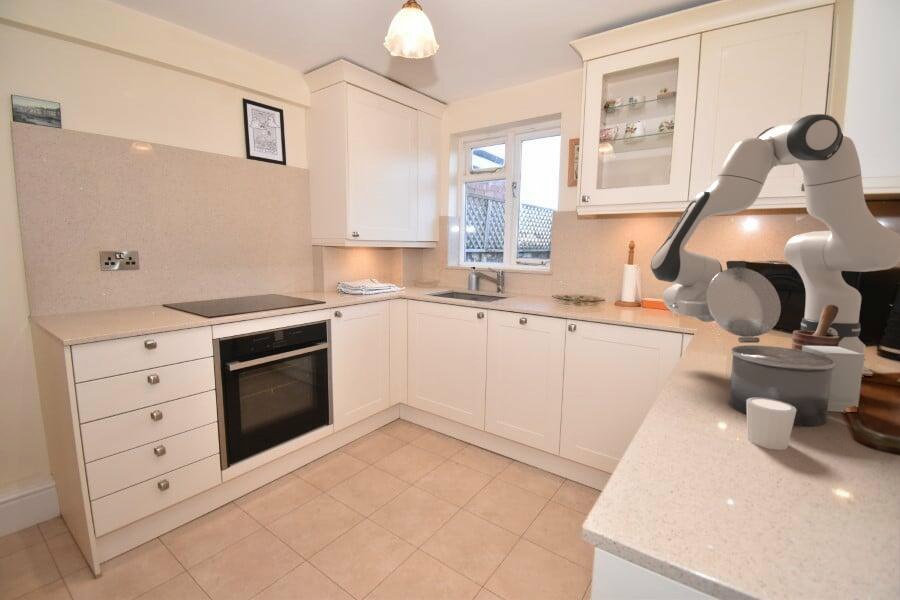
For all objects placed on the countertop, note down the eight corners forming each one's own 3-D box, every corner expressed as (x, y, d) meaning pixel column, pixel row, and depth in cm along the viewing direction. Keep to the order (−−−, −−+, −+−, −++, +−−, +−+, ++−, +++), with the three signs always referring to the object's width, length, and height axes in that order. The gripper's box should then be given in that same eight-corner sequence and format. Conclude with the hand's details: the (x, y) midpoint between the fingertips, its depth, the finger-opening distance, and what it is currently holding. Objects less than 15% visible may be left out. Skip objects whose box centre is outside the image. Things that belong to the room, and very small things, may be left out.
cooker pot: (710, 395, 93) (714, 345, 92) (781, 395, 93) (786, 345, 92) (766, 427, 77) (772, 366, 75) (852, 427, 77) (860, 366, 75)
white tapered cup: (779, 455, 66) (784, 414, 65) (734, 438, 72) (738, 400, 72) (800, 445, 69) (804, 407, 69) (755, 430, 76) (759, 394, 75)
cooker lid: (715, 342, 91) (710, 343, 93) (788, 342, 91) (781, 343, 93) (702, 260, 96) (697, 263, 98) (771, 260, 96) (765, 263, 98)
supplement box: (858, 413, 83) (866, 354, 82) (817, 411, 85) (824, 352, 83) (832, 400, 90) (839, 345, 89) (795, 398, 92) (801, 344, 90)
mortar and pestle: (790, 374, 110) (798, 301, 107) (833, 381, 104) (843, 304, 101) (785, 384, 101) (794, 306, 99) (832, 392, 95) (843, 309, 93)
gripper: (667, 293, 108) (698, 299, 94) (743, 293, 108) (786, 299, 94) (665, 316, 109) (696, 326, 95) (741, 316, 108) (783, 326, 95)
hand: (741, 312), depth 94 cm, fingers closed
